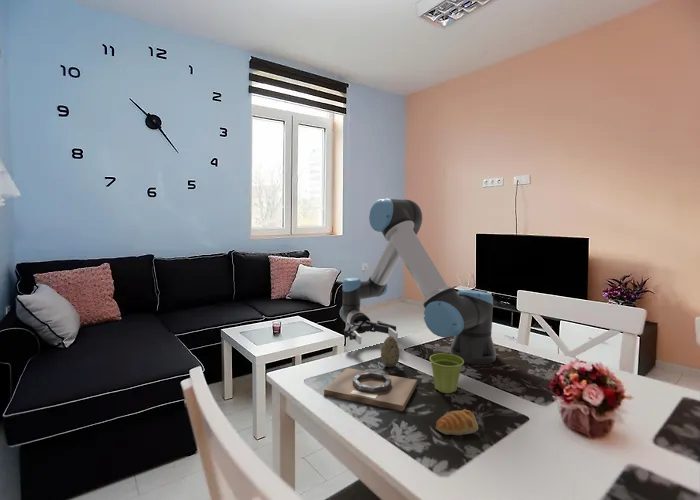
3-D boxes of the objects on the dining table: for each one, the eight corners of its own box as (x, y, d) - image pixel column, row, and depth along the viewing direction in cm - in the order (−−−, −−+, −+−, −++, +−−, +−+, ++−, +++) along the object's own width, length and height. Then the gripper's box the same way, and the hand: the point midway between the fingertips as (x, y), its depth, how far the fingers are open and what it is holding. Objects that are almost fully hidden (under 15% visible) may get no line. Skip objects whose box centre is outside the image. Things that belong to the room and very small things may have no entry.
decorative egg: (377, 367, 124) (377, 337, 123) (386, 361, 129) (386, 332, 128) (393, 371, 121) (394, 340, 120) (402, 365, 126) (402, 335, 125)
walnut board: (416, 385, 112) (416, 379, 112) (402, 411, 97) (403, 404, 97) (346, 372, 120) (346, 367, 120) (324, 394, 105) (324, 388, 105)
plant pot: (464, 398, 104) (465, 367, 103) (428, 394, 106) (429, 364, 105) (461, 383, 113) (462, 354, 112) (428, 380, 115) (429, 352, 114)
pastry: (446, 441, 85) (446, 424, 85) (429, 425, 91) (429, 410, 91) (480, 432, 88) (481, 417, 88) (462, 418, 95) (462, 403, 94)
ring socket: (394, 380, 111) (394, 375, 111) (383, 395, 102) (383, 390, 102) (361, 374, 115) (361, 369, 115) (348, 388, 106) (348, 383, 105)
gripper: (387, 328, 158) (410, 345, 138) (328, 333, 150) (344, 352, 130) (387, 310, 157) (411, 325, 137) (328, 314, 150) (344, 331, 130)
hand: (378, 338), depth 134 cm, fingers open, 13 cm apart
